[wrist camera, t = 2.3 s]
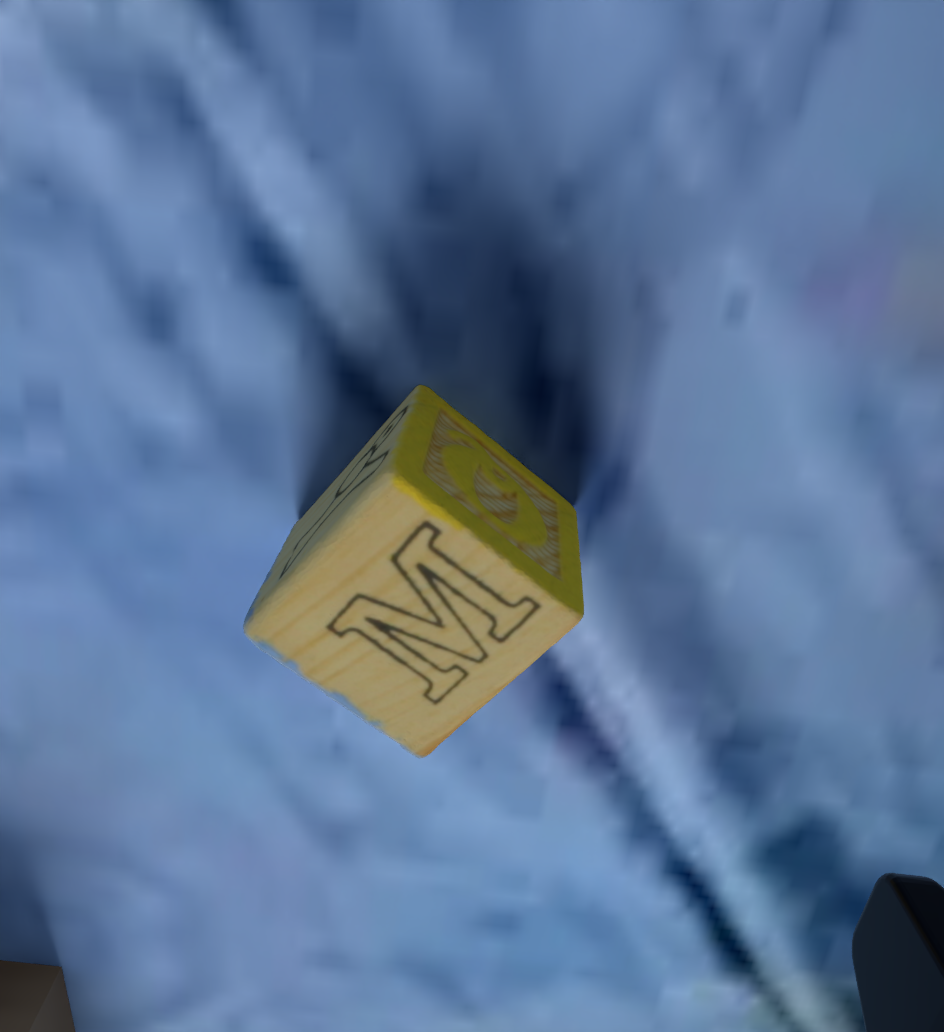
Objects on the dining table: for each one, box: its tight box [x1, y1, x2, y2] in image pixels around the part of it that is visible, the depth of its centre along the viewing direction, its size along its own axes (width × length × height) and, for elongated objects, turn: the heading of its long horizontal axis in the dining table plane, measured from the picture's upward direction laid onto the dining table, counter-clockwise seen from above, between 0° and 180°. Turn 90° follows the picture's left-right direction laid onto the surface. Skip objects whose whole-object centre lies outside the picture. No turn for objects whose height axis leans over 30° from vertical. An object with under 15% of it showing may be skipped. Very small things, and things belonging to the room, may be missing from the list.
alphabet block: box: [243, 385, 584, 758], centre depth 12 cm, size 3×3×3 cm
